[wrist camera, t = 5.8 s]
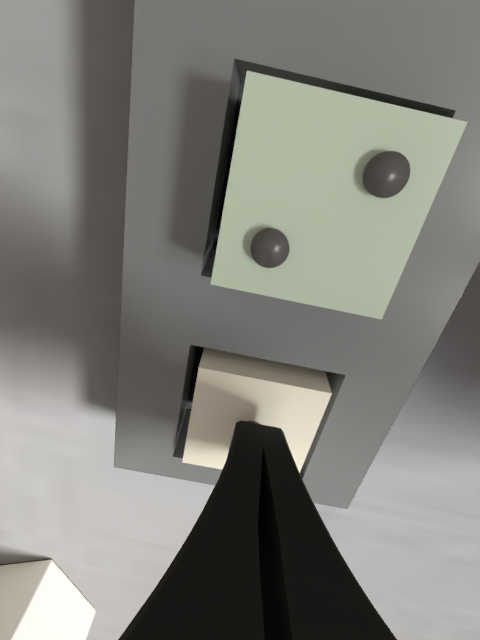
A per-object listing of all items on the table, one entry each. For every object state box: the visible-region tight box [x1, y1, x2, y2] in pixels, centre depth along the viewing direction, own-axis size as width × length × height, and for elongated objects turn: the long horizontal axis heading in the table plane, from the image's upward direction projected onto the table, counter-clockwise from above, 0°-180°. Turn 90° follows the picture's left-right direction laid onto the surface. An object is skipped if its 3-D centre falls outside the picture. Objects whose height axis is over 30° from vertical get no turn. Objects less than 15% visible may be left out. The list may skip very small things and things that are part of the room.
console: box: [114, 0, 480, 509], centre depth 9 cm, size 21×9×2 cm, turn 169°
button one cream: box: [182, 347, 332, 473], centre depth 12 cm, size 4×4×3 cm
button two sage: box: [211, 71, 468, 319], centre depth 8 cm, size 4×4×3 cm
